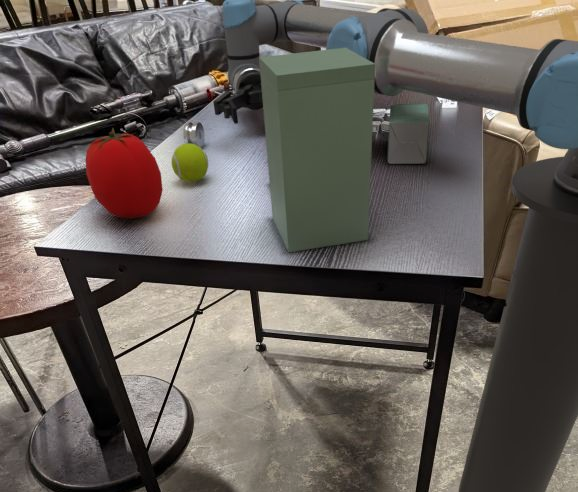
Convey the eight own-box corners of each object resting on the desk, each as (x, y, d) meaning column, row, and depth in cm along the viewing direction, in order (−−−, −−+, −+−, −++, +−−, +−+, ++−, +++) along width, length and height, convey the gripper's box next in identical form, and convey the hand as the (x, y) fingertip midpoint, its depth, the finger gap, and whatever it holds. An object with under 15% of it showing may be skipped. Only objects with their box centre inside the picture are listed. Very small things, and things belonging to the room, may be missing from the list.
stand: (368, 240, 77) (375, 63, 62) (288, 252, 76) (276, 75, 61) (344, 208, 86) (345, 47, 71) (272, 219, 84) (258, 57, 70)
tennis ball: (171, 179, 101) (163, 143, 96) (204, 172, 103) (198, 136, 98) (181, 190, 96) (174, 152, 92) (216, 182, 98) (210, 145, 94)
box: (424, 141, 108) (428, 101, 104) (426, 164, 99) (430, 121, 94) (388, 141, 110) (390, 102, 105) (387, 165, 100) (389, 122, 95)
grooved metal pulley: (197, 151, 113) (193, 126, 109) (185, 150, 113) (180, 126, 110) (206, 143, 116) (202, 119, 113) (193, 143, 117) (189, 119, 114)
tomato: (152, 232, 84) (130, 145, 75) (85, 227, 87) (57, 143, 78) (182, 202, 92) (166, 121, 83) (120, 199, 95) (98, 120, 86)
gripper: (306, 99, 123) (330, 124, 107) (200, 112, 120) (209, 139, 104) (305, 62, 118) (330, 82, 102) (194, 75, 115) (203, 98, 99)
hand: (269, 111), depth 103 cm, fingers open, 13 cm apart
